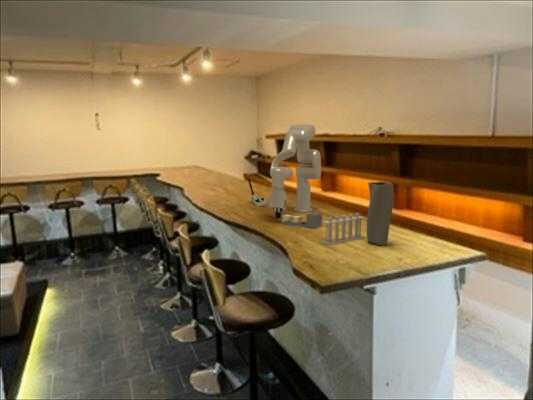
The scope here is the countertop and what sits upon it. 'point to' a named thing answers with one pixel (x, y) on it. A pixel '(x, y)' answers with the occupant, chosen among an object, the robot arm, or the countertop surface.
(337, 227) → the test tube rack
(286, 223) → the guide channel
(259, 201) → the butterfly valve
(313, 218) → the end cap
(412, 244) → the countertop surface
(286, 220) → the beige rectangular block
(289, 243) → the countertop surface
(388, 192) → the vase
